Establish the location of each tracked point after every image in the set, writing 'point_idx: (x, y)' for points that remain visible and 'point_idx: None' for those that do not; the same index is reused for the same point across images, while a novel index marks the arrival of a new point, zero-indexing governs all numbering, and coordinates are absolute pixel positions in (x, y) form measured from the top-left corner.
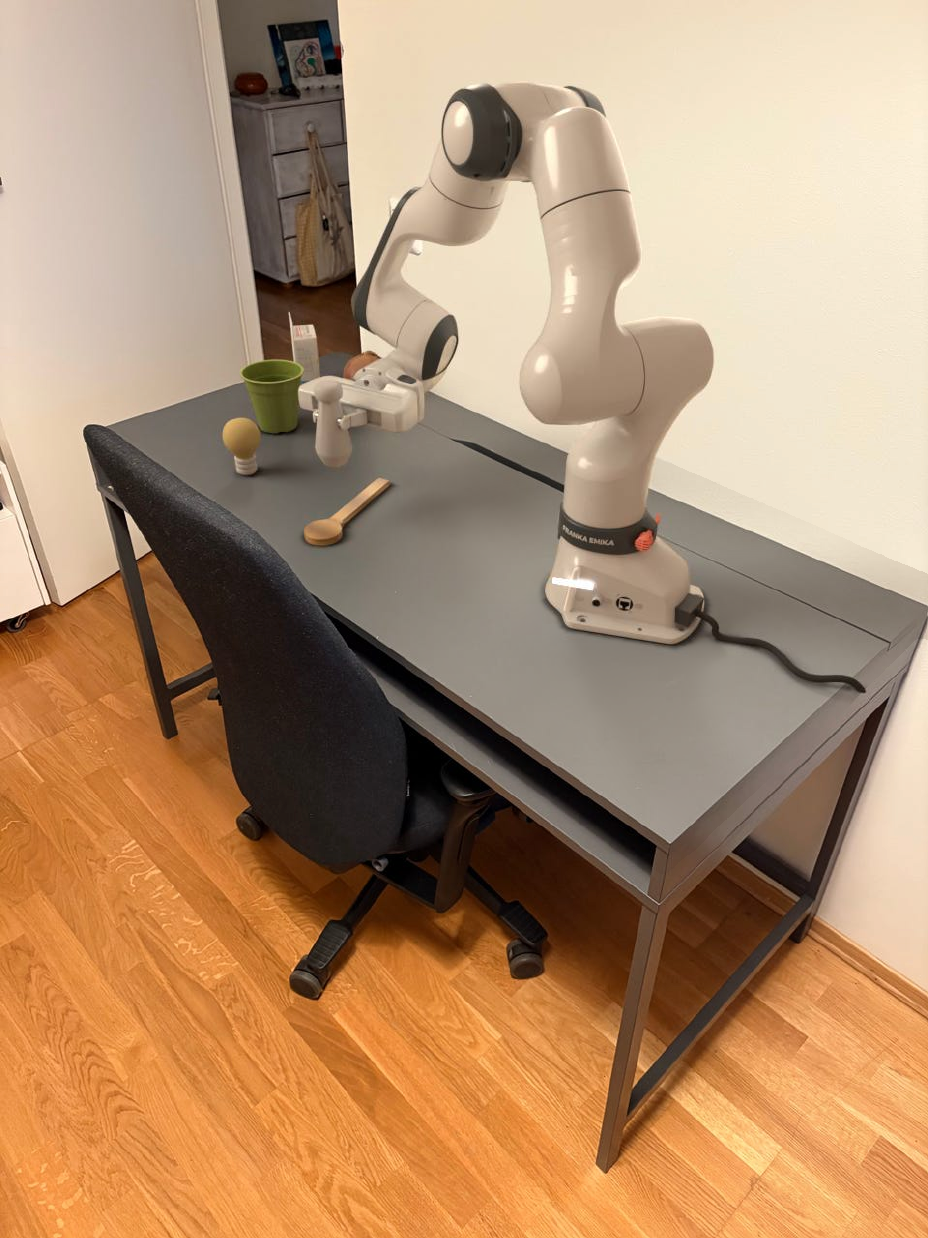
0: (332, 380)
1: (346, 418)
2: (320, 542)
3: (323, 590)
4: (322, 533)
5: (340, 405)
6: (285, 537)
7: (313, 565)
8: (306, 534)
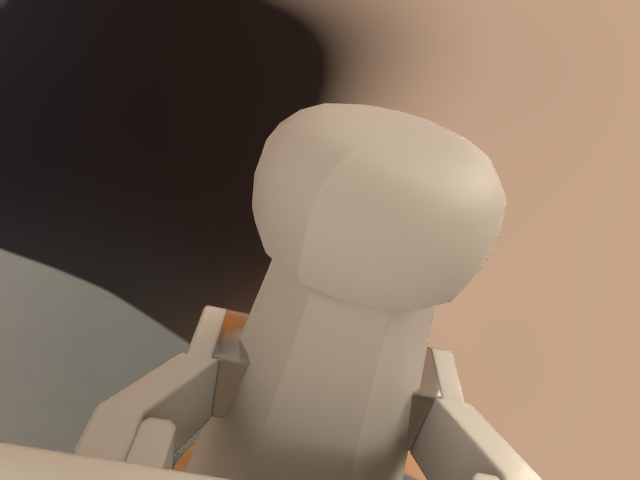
0: (400, 160)
1: (197, 329)
2: None
3: (130, 311)
4: None
5: (273, 310)
6: None
7: None
8: None
